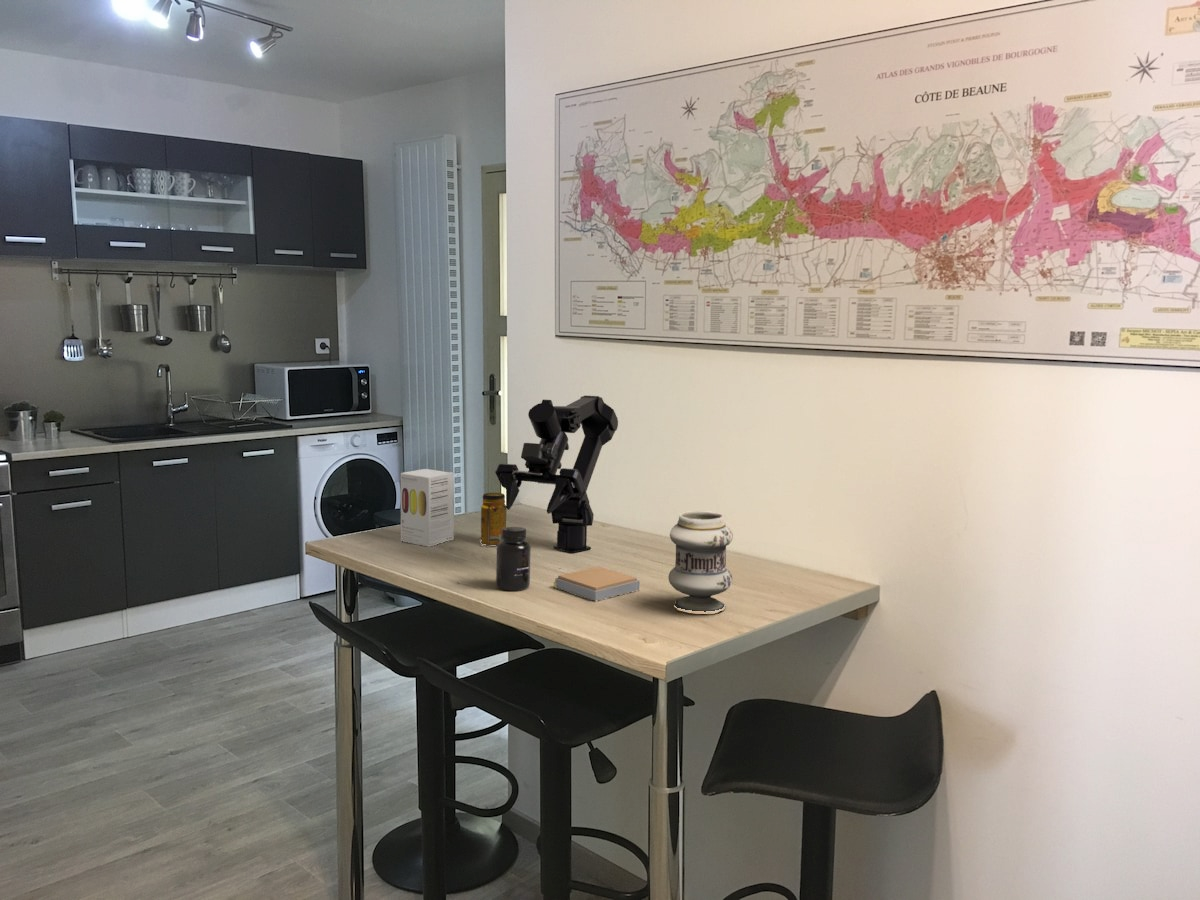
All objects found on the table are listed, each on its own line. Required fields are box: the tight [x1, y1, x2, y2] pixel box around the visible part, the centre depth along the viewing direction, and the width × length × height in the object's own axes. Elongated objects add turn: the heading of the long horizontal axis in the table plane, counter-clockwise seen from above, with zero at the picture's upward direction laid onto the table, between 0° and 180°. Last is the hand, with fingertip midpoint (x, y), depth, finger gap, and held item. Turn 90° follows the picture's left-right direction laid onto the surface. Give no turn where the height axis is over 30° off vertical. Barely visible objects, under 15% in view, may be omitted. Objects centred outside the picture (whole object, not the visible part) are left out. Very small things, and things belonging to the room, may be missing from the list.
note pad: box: [553, 566, 641, 602], centre depth 188 cm, size 12×12×3 cm
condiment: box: [480, 492, 507, 547], centre depth 225 cm, size 7×8×12 cm
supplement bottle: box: [495, 526, 532, 592], centre depth 188 cm, size 7×7×12 cm
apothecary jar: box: [667, 510, 734, 612], centre depth 177 cm, size 12×12×18 cm
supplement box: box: [400, 468, 455, 548], centre depth 225 cm, size 10×9×17 cm
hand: (527, 510), depth 195 cm, fingers open, 9 cm apart
